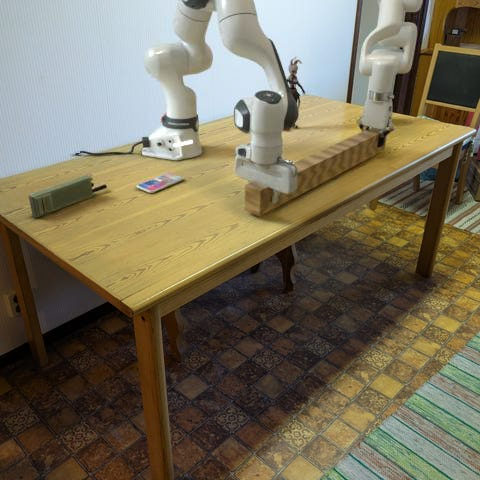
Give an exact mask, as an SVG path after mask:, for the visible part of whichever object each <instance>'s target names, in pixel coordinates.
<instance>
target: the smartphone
mask: <svg viewBox="0 0 480 480" xmlns="http://www.w3.org/2000/svg"><path fill="white" fill-rule="evenodd" d="M182 181H184V177H183V176H180V175H179V174H174V173H172V172H166V173H163V174H161V175H159V176H156V177H154V178H151V179H149V180H146V181H143V182H141V183H138V184H137V185H136V188H137V189H139V190H141V191H143V192H145V193H148V194H154V193H156V192H158V191H160V190H161V191H162V190H164V189H166V188H168V187H170V186H172V185H175V184H177V183H180V182H182Z"/></svg>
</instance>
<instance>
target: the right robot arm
mask: <svg viewBox="0 0 480 480" xmlns="http://www.w3.org/2000/svg"><path fill="white" fill-rule="evenodd" d="M423 1H424V0H377V1H376V2H377V4H378V10H379V11H378V17H377V23H376V27H375V29H373V30H372V31H371V32H370V33H369V34H368V35H367V36H366V38H365V39H364V41H363V43H362V46H361V49H360V56H359V64H358V72H359V73H360V75H362V76H363V77H364V76H365V77H368V85H367V93H366V94H367V95H366V99H365V102H364V107H363V109H362V114H361V116H360V117H358V119H356V124H357V125H358V127H359V129H360V130H361V132H363V131H366V130H368V129H370V128H377V129H379V130H380V137H379V140H378V146H377V147H378V148H380V147H382V146H383V145H384V141H385V136H386V135H387V136H388V135H389V134H390V133H392V132H393V131H395V130H396V127H395V125H394V124H393V122H392V121H393V99H394V98H395V94H393V93H392V90H393V85H394V84H393V83H394V77H396V76H397V75H398V74H403V75H404V74H408V73H409V72H410V71H411V69H412V65H413V61H414V56H415V50H416V45H417V44H416V43H417V37H418V26H417V25H416V23H414V22H409V21H403V17H404V13H417V12H419V11H420V9H421V7H422V5H423ZM375 44H377V45H378V46H381V47H390V48H376V49H374V50H372V52H371V53H370V49H371V48H372V47H373V46H374V45H375ZM391 47H392V48H391ZM399 48H400V49H399ZM387 128H388V130H387V131H386V129H387Z"/></svg>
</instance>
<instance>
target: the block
mask: <svg viewBox="0 0 480 480" xmlns="http://www.w3.org/2000/svg"><path fill="white" fill-rule="evenodd" d="M387 130H389V128H386V131H387ZM379 137H380V130H379V129H377V128H372V127H369V129H368V130H366V131H363V132H362V131H361V132H359V133H357V134H354V135H353V136H350V137H348V138H347V139H346V138H345V139H343V140H342V141H339V142H337V143H335V144H333V145H330V146H328V147H326V148H324V149H321V150H320V151H318V152H315V153H313V154H310V155H308V156H306V157H303V158H302V159H299V160H297V161H295V162H293V163H294V164H295V165H296V166H297V189H296V190H295V191H294V192H293V193H291V194H285V193H282V192H281V193H280V195H279V196H278V201H277V202H276V203H272V202H270V197H271V196H273V195H274V194H275V193H273V189H271V188H269V187H268V186H265V185H262V184H260V183H257V182H254V181H253V182H251V183H249V184H248V183H247V184H245V185H244V190H245V191H244V211H245V212H248V213H251V214H254V215H255V216H257V217H262V216H263V215H265V214H266V213H269V212H270V211H273V210H274V209H276V208H278V207H280V206H281V205H283V204H285V203H288V202H289V201H291V200H293V199H294V198H297V197H298V196H300V195H302V194H304V193H306V192H308V191H310V190H312V189H314V188H315V187H318V186H319V185H321V184H323V183H325V182H327V181H329V180H330V179H333V178H334V177H336V176H338V175H341V174H342V173H343V172H345V171H348V170H349V169H351V168H354V167H355V166H357V165H358V164H361V163H362V162H365V161H366V160H368V159H369V158H371V157H374V156H376V155H377V154H379V153H381V152H383V151H385V149H386V144H387V138H388V135H386V136H385V141H384V145H383V146H382V147H380V148H378V147H377V146H378V140H379ZM292 165H293V164H292Z"/></svg>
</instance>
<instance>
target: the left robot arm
mask: <svg viewBox="0 0 480 480" xmlns="http://www.w3.org/2000/svg"><path fill="white" fill-rule="evenodd" d="M214 12H215V13H216V16H217V24H218V31H219V35H220V38H221V42H222V45H223V46H224V47H225V49H227V51H229V52H230V53H231V54H232V55H235V56H237V57H240V58H243V59H247V60H249V61H251V62H254V63H256V64H257V65H259V66H260V67H261V68H262V69H263V71H264V73H265V77H266V79H267V83H268V85H269V87H270V90H268V89H267V90H266V89H265V90H259V91H257V92H255V93H254V94H253V96H251V97H245V98H242V99H240V100H238V101H237V103H236V104H235V106H234V108H233V123H234V126H235V128H237V130H239V131H240V132H242V133H243V134H248V135H250V142H247V143H244V144H241V145H239V146H237V147H235V156H234V163H233V167H234V168H233V171H234V174H235V176H236V177H237V178H240V179H243V180H246V181H247V184H249V183H251V182H253V181H254V182H257V183H260V184H262V185H265V186H268V187H269V188H271V189H273V193H275V194H274V195H273V196H271V197H270V202H272V203H276V202H277V201H278V196H279V195H280V193H281V192H282V193H285V194H291V193H293V192H294V191H295V190H296V189H297V166H296V165H295V164H294V163H295V162H294V161H293V160H291V159H287V158H284V157H283V147H284V146H283V144H284V141H283V132H285V131H287V132H288V130H289V129H292V128H293V125H294V124H295V125H296V123H297V121H298V120H299V114H300V111H299V109H298V102H297V103H296V101H295V99H294V97H293V95H292V93H291V91H290V85H289V82H287V76H286V73H285V69H284V68H283V64H282V61H281V59H280V55H279V53H278V50H277V48H276V45H275V43H274V41H273V40H272V39H271V38H269V37H268V36H267V35H266V34H265V33H264V31H263V29H262V27H261V25H260V23H259V17H258V12H257V9H256V5H255V0H178V2H177V5H176V9H175V13H174V16H173V20H172V29H173V32H174V34H175V35H176V36H177V38H179V41H177V42H171V43H161V44H157V45H154V46H152V47H149V48H148V49H146V52H145V53H144V57H143V65H144V68H145V71H146V72H147V74H148V75H149V76H150V77H152V78H153V79H154V80H156V82H157V83H158V84H159V86H160V87H161V89H162V92H163V96H164V102H165V113H163V114H162V116H161V118H160V123H161V125H159V127H157V128H156V129H155V130H154V131H152V132H151V133H150V135H149V136H142V137H141V141H138V142H136V143H134V144H132V146H131V149H130V151H127V152H121V151H106V152H90V151H86V150H79V151H80V153H77V152H75V154H74V156H79V154H86V155H89V156H105V155H106V156H109V155H131V154H133V153H134V150H135V147H137V146H139V145H142V150H141V155H142V156H145V157H152V158H157V159H164V160H170V161H176V162H178V161H182V160H185V159H190V158H191V159H192V158H196V157H198V156H200V155H202V153H203V149H202V148H203V147H202V145H201V142H200V134H199V128H200V121H199V114H198V103H197V100H198V99H197V94H196V92H195V91H194V89H192V88H191V87H189V86H187V85H185V82H184V77H185V76H192V75H199V74H201V73H203V72H206V71H208V70H210V68H211V67H212V66H213V61H214V55H213V51H212V48H211V47H210V45H208V43H206V36H207V35H206V34H207V32H208V28H209V25H210V22H211V18H212V16H213V13H214ZM289 131H290V130H289ZM292 164H293V165H292Z"/></svg>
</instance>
